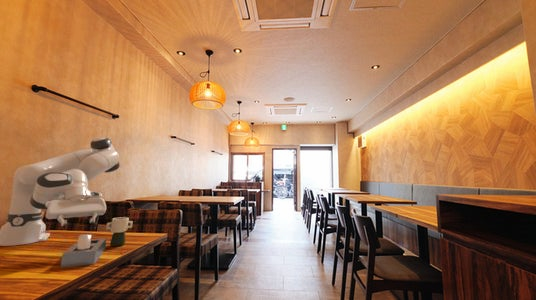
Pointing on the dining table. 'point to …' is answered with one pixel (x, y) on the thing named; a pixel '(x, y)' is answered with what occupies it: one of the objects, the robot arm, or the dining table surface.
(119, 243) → the character mug
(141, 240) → the dining table surface
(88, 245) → the steel pin
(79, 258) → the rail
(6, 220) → the robot arm
